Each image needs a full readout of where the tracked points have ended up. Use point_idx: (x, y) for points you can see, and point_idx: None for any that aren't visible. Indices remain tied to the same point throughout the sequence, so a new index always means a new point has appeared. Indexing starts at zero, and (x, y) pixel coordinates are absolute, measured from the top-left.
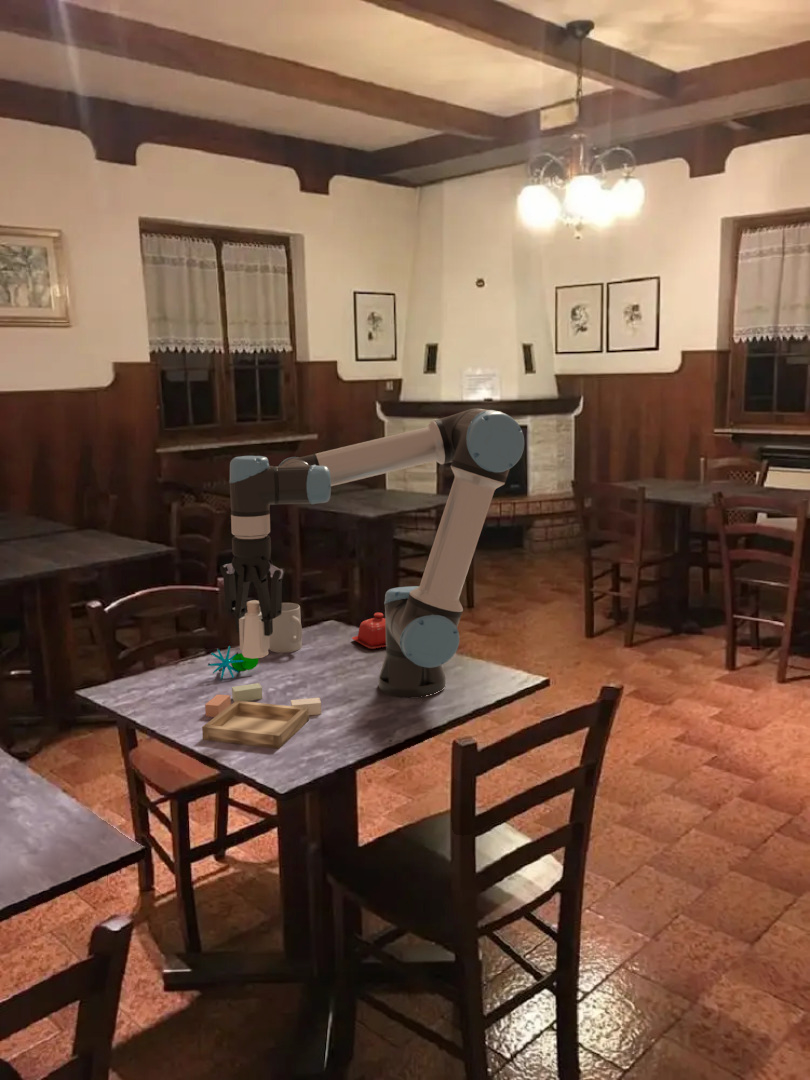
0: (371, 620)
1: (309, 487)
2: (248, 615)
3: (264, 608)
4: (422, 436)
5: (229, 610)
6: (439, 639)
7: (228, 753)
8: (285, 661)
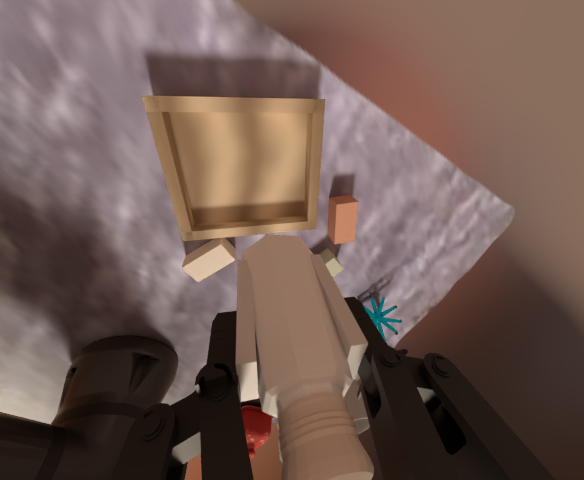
0: (255, 443)
1: None
2: (323, 374)
3: (214, 471)
4: None
5: (440, 372)
6: None
7: (243, 53)
8: None
